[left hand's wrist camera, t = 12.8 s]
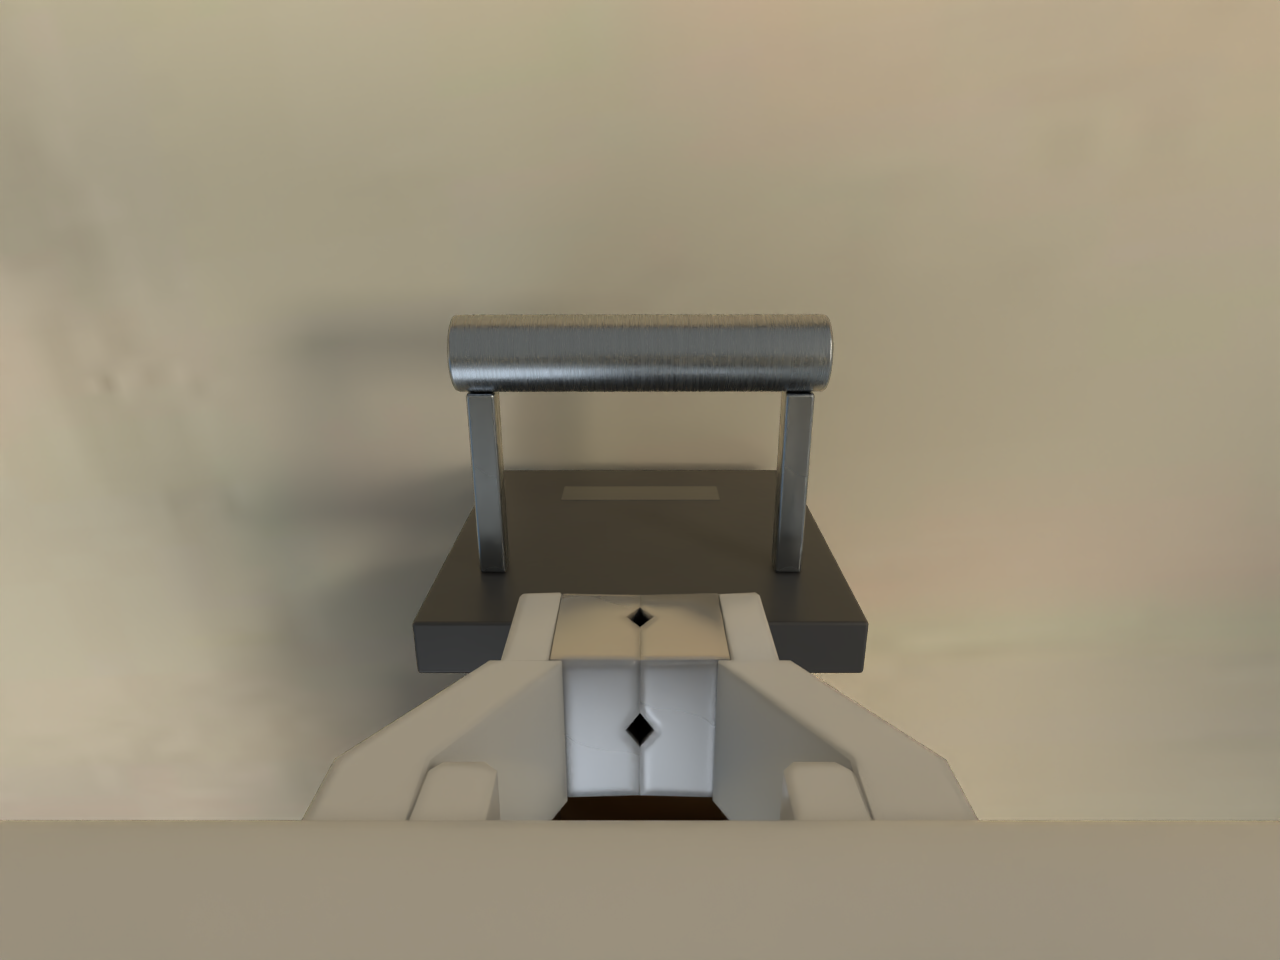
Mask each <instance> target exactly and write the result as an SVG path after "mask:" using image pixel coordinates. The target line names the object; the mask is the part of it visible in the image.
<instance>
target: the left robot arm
mask: <svg viewBox="0 0 1280 960" xmlns="http://www.w3.org/2000/svg"><path fill="white" fill-rule="evenodd" d="M625 795H653V796H689V797H713V801H714V803H715V804H716V805H717V806H718V807H719V809H720V810H721V811H722V812H723V813H724V815H725V816H726V817H727V818H728V819H729V820H552V819H553V818H554V817H555V815H556V814H557V813H558V812H559V811H560V809H561V808H562V807H563V806H564V805H565V803H566V802H567V797H590V796H625ZM0 960H1280V821H985V820H978V819H977V817H976V815H975V813H974V811H973V809H972V807H971V805H970V804H969V802H968V800H967V798H966V796H965V794H964V792H963V790H962V789H961V787H960V785H959V783H958V781H957V779H956V777H955V775H954V774H953V772H952V770H951V768H950V766H949V764H948V762H947V760H945V759H944V758H942V757H941V756H939V755H938V754H936V753H935V752H933V751H931V750H930V749H928V748H927V747H925V746H924V745H922V744H920V743H919V742H917V741H916V740H914V739H913V738H911V737H909V736H908V735H906V734H905V733H903V732H902V731H900V730H899V729H897V728H895V727H894V726H892V725H891V724H889V723H888V722H886V721H884V720H883V719H881V718H880V717H878V716H877V715H875V714H873V713H872V712H870V711H869V710H867V709H866V708H864V707H862V706H861V705H859V704H858V703H856V702H855V701H853V700H852V699H850V698H848V697H847V696H845V695H844V694H842V693H841V692H839V691H837V690H836V689H834V688H833V687H831V686H830V685H828V684H826V683H825V682H823V681H822V680H820V679H819V678H817V677H816V676H814V675H812V674H811V673H809V672H808V671H806V670H805V669H803V668H801V667H800V666H798V665H797V664H795V663H794V662H792V661H790V660H779V658H778V655H777V652H776V648H775V645H774V642H773V638H772V635H771V632H770V628H769V625H768V622H767V618H766V615H765V612H764V609H763V605H762V602H761V599H760V595H758V594H757V593H755V592H754V593H733V594H718V593H705V594H663V595H617V594H563V595H562V594H561V593H527V594H522V595H521V596H520V598H519V601H518V604H517V608H516V611H515V614H514V618H513V621H512V625H511V628H510V631H509V635H508V638H507V641H506V645H505V648H504V651H503V655H502V658H501V660H490V661H488V662H486V663H485V664H483V665H482V666H480V667H479V668H477V669H475V670H474V671H472V672H471V673H469V674H468V675H466V676H464V677H463V678H461V679H460V680H458V681H457V682H455V683H453V684H452V685H450V686H449V687H447V688H446V689H444V690H442V691H441V692H439V693H438V694H436V695H435V696H433V697H431V698H430V699H428V700H427V701H425V702H423V703H422V704H420V705H419V706H417V707H416V708H414V709H412V710H411V711H409V712H408V713H406V714H405V715H403V716H401V717H400V718H398V719H397V720H395V721H394V722H392V723H390V724H389V725H387V726H386V727H384V728H383V729H381V730H379V731H378V732H376V733H375V734H373V735H372V736H370V737H368V738H367V739H365V740H364V741H362V742H361V743H359V744H357V745H356V746H354V747H353V748H351V749H350V750H348V751H346V752H345V753H343V754H342V755H340V756H339V757H337V758H335V760H334V761H333V763H332V765H331V767H330V769H329V771H328V772H327V774H326V776H325V778H324V780H323V782H322V784H321V785H320V787H319V789H318V791H317V793H316V795H315V796H314V798H313V800H312V802H311V804H310V806H309V808H308V809H307V811H306V813H305V815H304V817H303V819H302V820H0Z"/></svg>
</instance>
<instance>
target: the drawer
mask: <svg viewBox="0 0 1280 960" xmlns="http://www.w3.org/2000/svg"><path fill="white" fill-rule="evenodd" d="M447 358H448V368H449V374H450V378H451V381H452V384H453V386H454V388H455V389H456V390H457V391H460V392H469V393H468V394H467V396H466V401H467V413H468V426H469V439H470V451H471V464H472V477H473V489H474V502H475V505H474V507H473V509H472V511H471V513H470V515H469V517H468V519H467V521H466V523H465V524H464V526H463V528H462V530H461V532H460V534H459V536H458V538H457V540H456V542H455V543H454V545H453V547H452V549H451V551H450V553H449V555H448V557H447V559H446V561H445V562H444V564H443V566H442V568H441V570H440V572H439V574H438V576H437V578H436V580H435V582H434V583H433V585H432V587H431V589H430V591H429V593H428V595H427V597H426V599H425V601H424V602H423V604H422V606H421V608H420V610H419V612H418V614H417V616H416V618H415V620H414V621H413V633H414V642H415V650H416V659H417V668H418V671H419V672H420V673H471V672H472V671H474V670H475V669H477V668H479V667H480V666H482V665H483V664H485V663H486V662H488V661H490V660H501V658H502V655H503V651H504V648H505V645H506V641H507V638H508V635H509V631H510V628H511V625H512V621H513V618H514V614H515V611H516V608H517V604H518V601H519V598H520V596H521V595H522V594H527V593H561V594H562V595H563V594H617V595H663V594H705V593H718V594H733V593H754V592H755V593H757V594H758V595H760V599H761V602H762V605H763V609H764V612H765V615H766V618H767V622H768V625H769V628H770V632H771V635H772V638H773V642H774V645H775V648H776V652H777V655H778V658H779V660H790V661H792V662H794V663H795V664H797V665H798V666H800V667H801V668H803V669H805V670H806V671H808V672H809V673H861V672H862V671H863V667H864V659H865V650H866V641H867V632H868V622H867V620H866V618H865V616H864V614H863V612H862V610H861V608H860V606H859V604H858V602H857V601H856V599H855V597H854V595H853V593H852V591H851V589H850V587H849V585H848V583H847V581H846V579H845V578H844V576H843V574H842V572H841V570H840V568H839V566H838V564H837V562H836V560H835V558H834V556H833V555H832V553H831V551H830V549H829V547H828V545H827V543H826V541H825V539H824V537H823V535H822V534H821V532H820V530H819V528H818V526H817V524H816V522H815V520H814V518H813V516H812V514H811V512H810V511H809V509H808V507H807V505H806V500H807V487H808V474H809V461H810V448H811V435H812V422H813V409H814V394H813V393H812V391H823V390H825V389H826V387H827V385H828V382H829V379H830V376H831V371H832V363H833V333H832V327H831V323H830V320H829V318H828V317H827V316H826V315H823V314H809V315H456V316H453V317H452V319H451V322H450V325H449V330H448V338H447ZM701 391H782V395H781V411H780V427H779V443H778V459H777V470H504V464H503V448H502V433H501V417H500V401H499V392H701ZM552 820H729V819H728V818H727V817H726V816H725V815H724V813H723V812H722V811H721V810H720V809H719V807H718V806H717V805H716V804H715V803H714V801H713V797H689V796H653V795H625V796H590V797H567V802H566V803H565V805H564V806H563V807H562V808H561V809H560V811H559V812H558V813H557V814H556V815H555V817H554V818H553V819H552Z"/></svg>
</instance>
